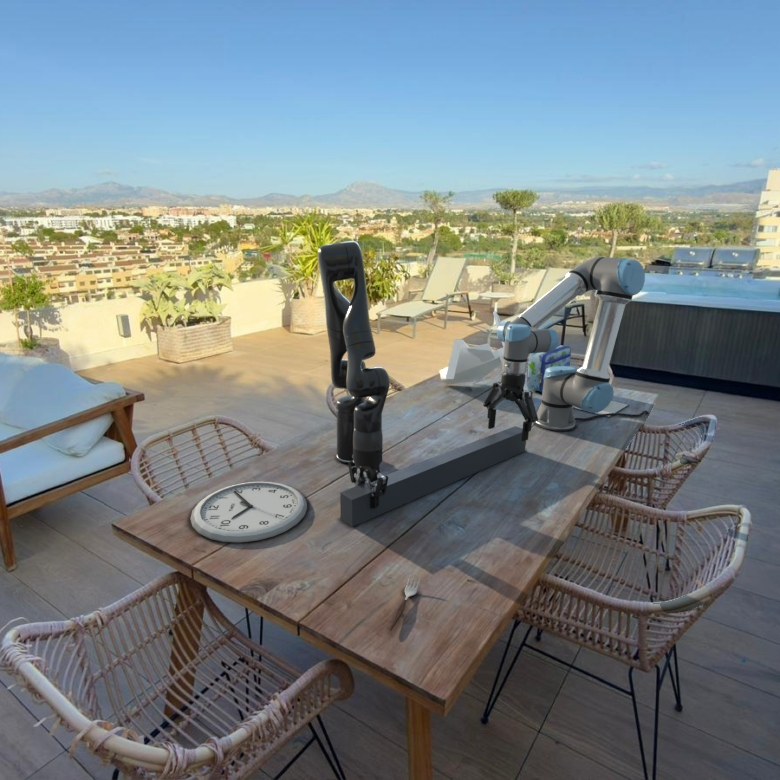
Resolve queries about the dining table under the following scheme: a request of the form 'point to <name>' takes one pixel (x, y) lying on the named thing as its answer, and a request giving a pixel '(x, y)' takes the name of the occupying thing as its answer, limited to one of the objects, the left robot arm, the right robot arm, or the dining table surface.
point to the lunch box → (545, 365)
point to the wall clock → (248, 512)
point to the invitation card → (611, 408)
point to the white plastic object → (472, 361)
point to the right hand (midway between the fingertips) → (507, 434)
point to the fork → (409, 592)
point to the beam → (431, 475)
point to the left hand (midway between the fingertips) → (367, 503)
